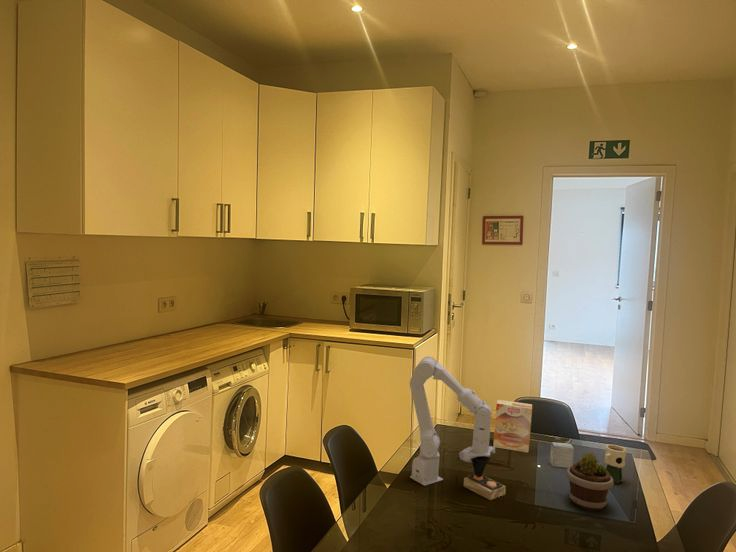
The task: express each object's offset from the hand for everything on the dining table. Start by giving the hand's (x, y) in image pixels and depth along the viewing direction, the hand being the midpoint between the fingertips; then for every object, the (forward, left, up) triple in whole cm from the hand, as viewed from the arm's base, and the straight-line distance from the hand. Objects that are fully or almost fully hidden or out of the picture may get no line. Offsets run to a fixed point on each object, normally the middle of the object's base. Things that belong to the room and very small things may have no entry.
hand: (478, 475), depth 187 cm
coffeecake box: (+44, +19, -4) cm, 48 cm away
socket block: (0, -3, -4) cm, 5 cm away
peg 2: (0, -6, -4) cm, 7 cm away
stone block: (+20, +19, -5) cm, 28 cm away
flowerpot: (+24, -28, -4) cm, 37 cm away
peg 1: (0, 0, -4) cm, 4 cm away
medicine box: (+46, -4, -4) cm, 46 cm away
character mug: (+51, -23, -4) cm, 56 cm away
